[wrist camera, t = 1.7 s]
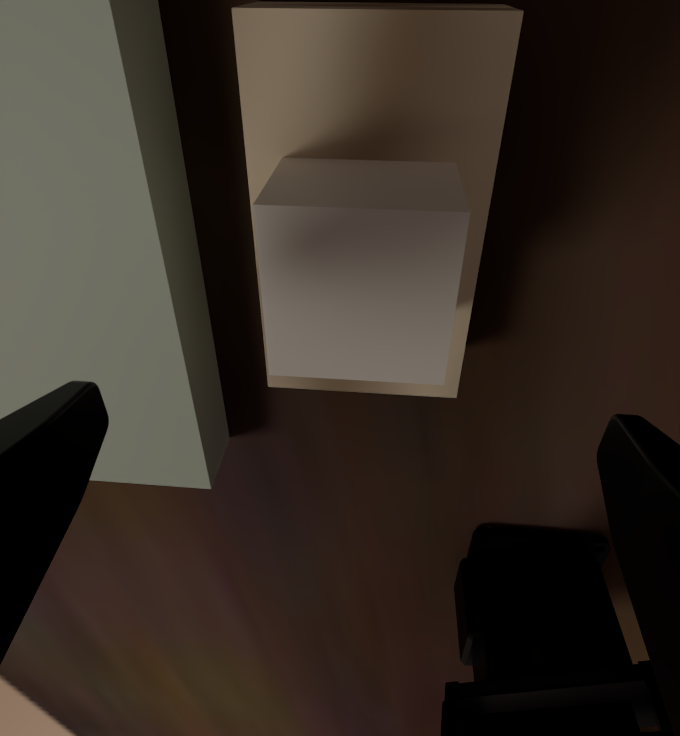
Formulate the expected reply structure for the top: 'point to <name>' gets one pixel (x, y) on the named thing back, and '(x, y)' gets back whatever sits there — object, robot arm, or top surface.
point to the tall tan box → (380, 111)
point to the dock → (104, 238)
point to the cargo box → (360, 267)
